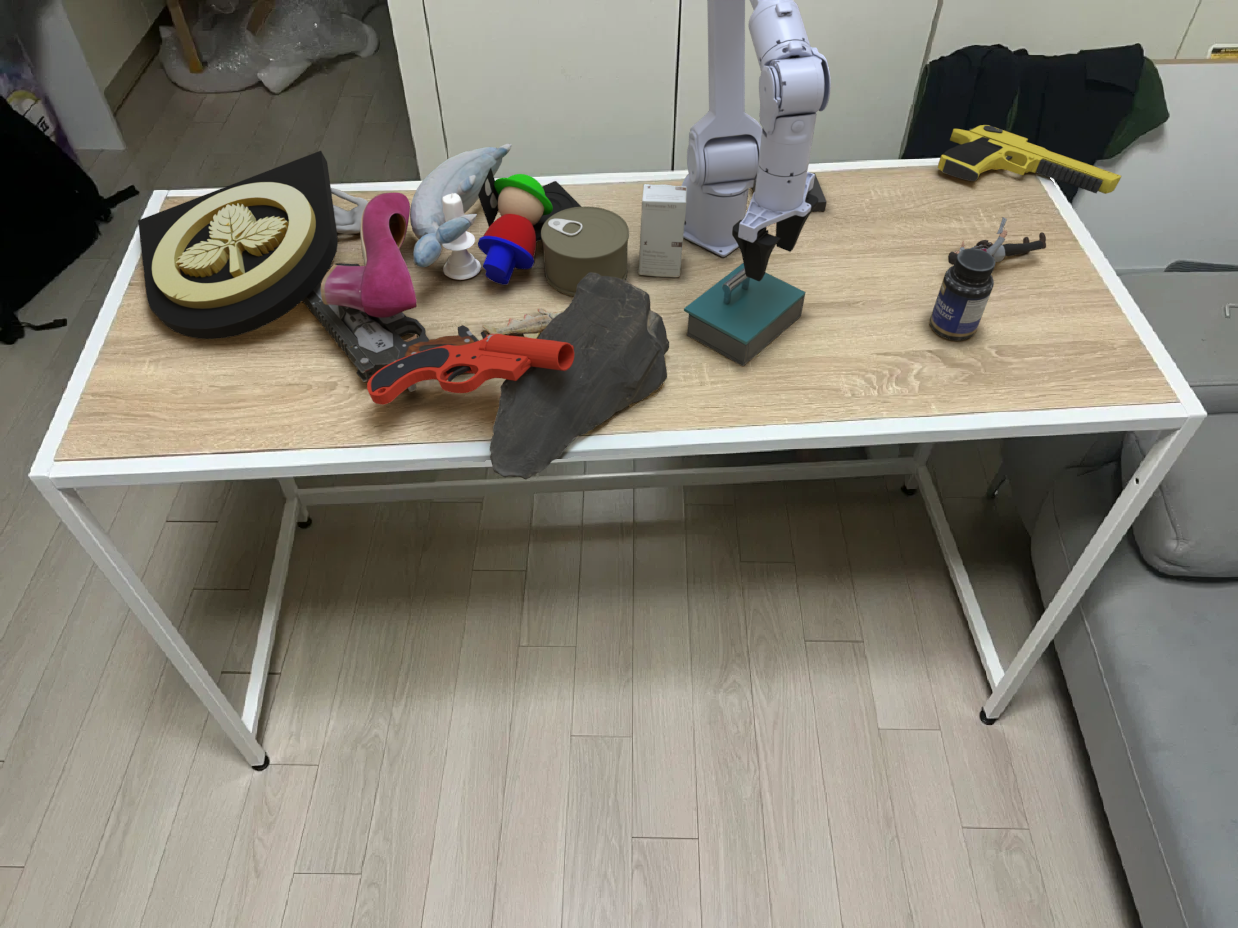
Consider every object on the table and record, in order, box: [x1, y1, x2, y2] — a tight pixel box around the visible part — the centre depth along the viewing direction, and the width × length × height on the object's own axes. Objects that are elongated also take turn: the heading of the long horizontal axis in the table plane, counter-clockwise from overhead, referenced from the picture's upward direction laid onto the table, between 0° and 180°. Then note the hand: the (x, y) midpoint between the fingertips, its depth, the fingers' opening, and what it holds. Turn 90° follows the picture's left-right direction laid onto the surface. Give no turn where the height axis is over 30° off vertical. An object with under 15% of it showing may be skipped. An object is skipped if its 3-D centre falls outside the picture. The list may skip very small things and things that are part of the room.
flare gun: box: [366, 331, 574, 406], centre depth 108 cm, size 3×23×15 cm
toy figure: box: [477, 168, 553, 286], centre depth 129 cm, size 9×10×15 cm
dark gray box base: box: [686, 294, 806, 367], centre depth 123 cm, size 9×13×4 cm
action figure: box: [947, 216, 1047, 266], centre depth 131 cm, size 9×7×15 cm
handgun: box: [937, 124, 1122, 195], centre depth 147 cm, size 4×26×15 cm
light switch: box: [533, 180, 583, 243], centre depth 137 cm, size 10×4×10 cm
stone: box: [489, 272, 670, 480], centre depth 112 cm, size 16×12×30 cm
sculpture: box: [409, 143, 513, 268], centre depth 130 cm, size 18×8×25 cm
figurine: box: [331, 187, 369, 235], centre depth 137 cm, size 10×6×20 cm
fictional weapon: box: [301, 262, 479, 392], centre depth 123 cm, size 28×4×15 cm
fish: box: [481, 307, 563, 339], centre depth 123 cm, size 12×2×5 cm
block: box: [751, 172, 828, 213], centre depth 143 cm, size 10×8×4 cm
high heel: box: [321, 192, 418, 318], centre depth 124 cm, size 26×9×12 cm
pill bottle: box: [929, 247, 996, 342], centre depth 120 cm, size 6×6×11 cm
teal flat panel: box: [683, 262, 807, 345], centre depth 120 cm, size 10×13×4 cm
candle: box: [442, 193, 482, 281], centre depth 128 cm, size 5×5×12 cm
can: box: [541, 206, 630, 297], centre depth 130 cm, size 12×12×7 cm
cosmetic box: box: [638, 183, 687, 278], centre depth 128 cm, size 6×4×12 cm
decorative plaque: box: [137, 150, 339, 340], centre depth 128 cm, size 28×4×30 cm
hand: (769, 262), depth 117 cm, fingers open, 7 cm apart
